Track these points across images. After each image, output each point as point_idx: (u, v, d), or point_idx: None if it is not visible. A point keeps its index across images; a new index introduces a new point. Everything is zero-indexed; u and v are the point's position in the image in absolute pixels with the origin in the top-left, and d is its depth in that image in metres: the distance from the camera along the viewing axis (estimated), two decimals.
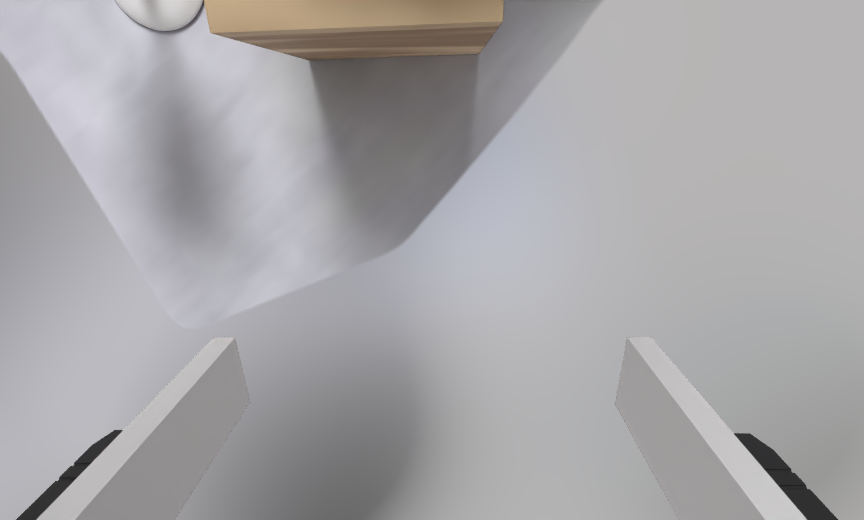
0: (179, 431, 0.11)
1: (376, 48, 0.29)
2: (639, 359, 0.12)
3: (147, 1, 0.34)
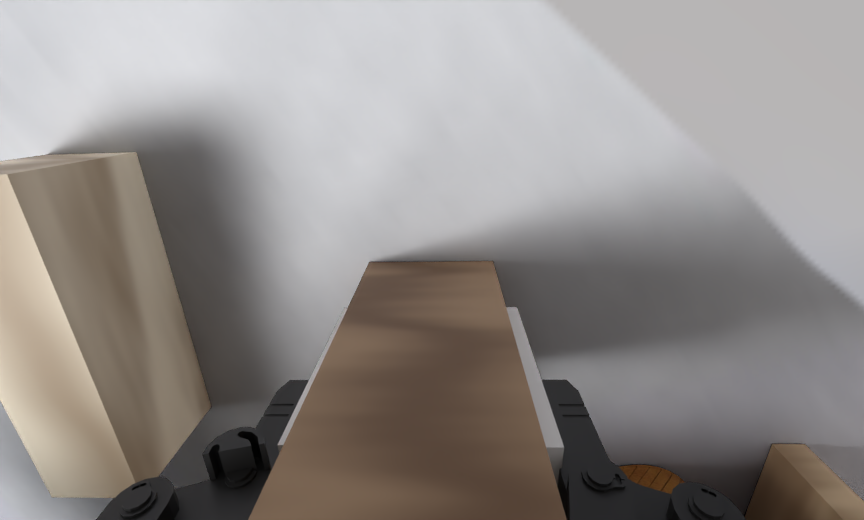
0: None
1: None
2: None
3: None
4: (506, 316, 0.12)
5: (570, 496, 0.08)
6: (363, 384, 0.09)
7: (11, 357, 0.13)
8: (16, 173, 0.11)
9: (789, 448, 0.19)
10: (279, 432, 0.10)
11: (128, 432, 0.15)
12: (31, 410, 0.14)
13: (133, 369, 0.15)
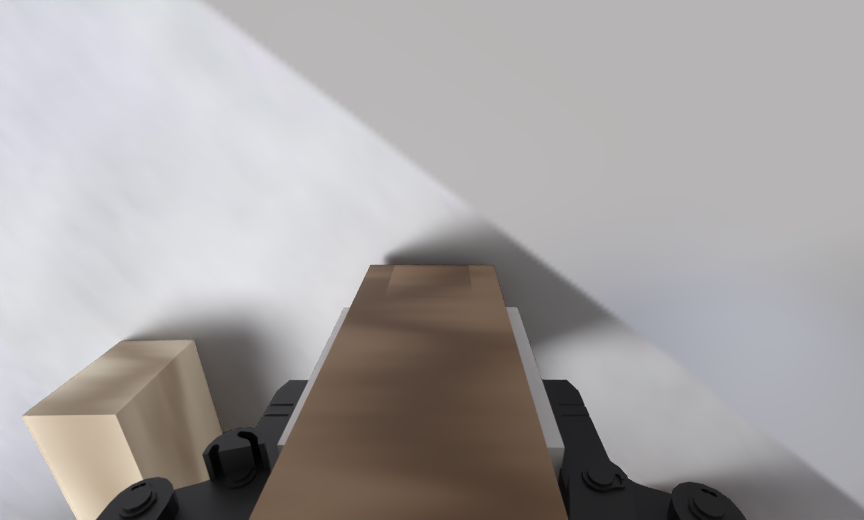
0: None
1: None
2: None
3: None
4: (507, 319, 0.12)
5: (570, 496, 0.08)
6: (365, 384, 0.09)
7: None
8: (120, 410, 0.15)
9: None
10: (279, 432, 0.10)
11: None
12: None
13: None
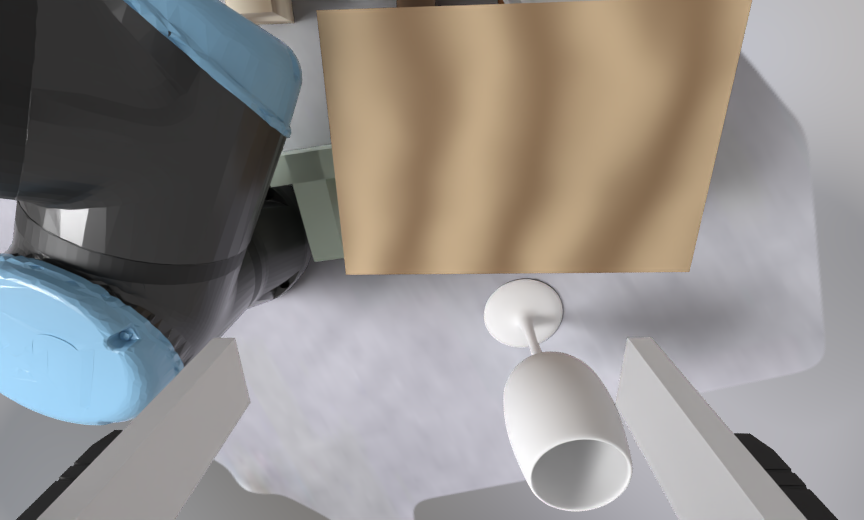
0: (179, 431, 0.11)
1: None
2: (639, 359, 0.12)
3: (545, 322, 0.44)
4: None
5: None
6: None
7: None
8: None
9: None
10: None
11: None
12: None
13: None
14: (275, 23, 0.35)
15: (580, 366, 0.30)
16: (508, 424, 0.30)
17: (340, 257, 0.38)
